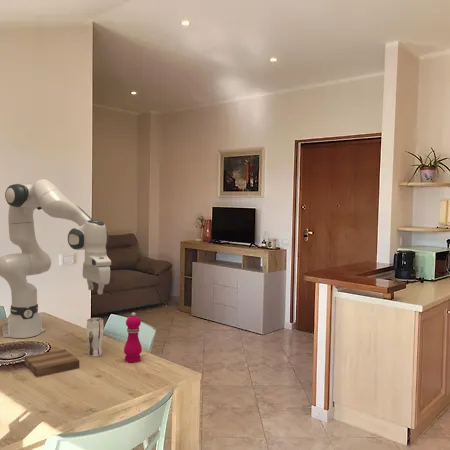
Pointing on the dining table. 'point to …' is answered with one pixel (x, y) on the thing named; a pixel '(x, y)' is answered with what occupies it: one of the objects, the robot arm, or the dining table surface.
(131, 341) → the pepper mill
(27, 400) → the dining table surface
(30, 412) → the dining table surface
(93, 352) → the beer glass
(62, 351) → the walnut base
